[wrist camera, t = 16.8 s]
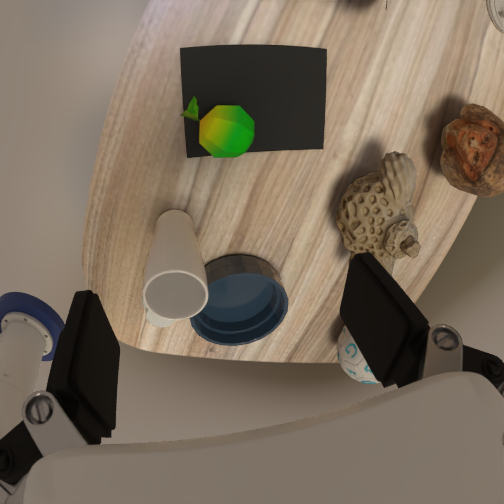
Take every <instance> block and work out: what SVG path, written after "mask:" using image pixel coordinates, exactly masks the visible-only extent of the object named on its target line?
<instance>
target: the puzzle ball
mask: <svg viewBox="0 0 504 504" xmlns="http://www.w3.org/2000/svg"><path fill="white" fill-rule="evenodd" d="M337 351H338V353H337V355H338V359H339V362H340V364H341V367H342V368H343V370H344V371H345V372H346V373H347V374H348V375H349V376H350V377H352V378H353V379H355V380H357V381H360V382H362V383H367V384H375V383H379V382H378V381H377V380H376V379H375V377H374V375H373V373H372V371H371V370H370V368H369V366H368V364H367V362H366V361H365V359H364V357H363V355H362V354H361V352H360V350H359V348H358V346H357V345H356V343H355V341H354V339H353V338H352V336H351V334H350V332H349V331H348V329H347V327H346V326H344V327H343V329H342V331H341V334H340V336H339V338H338V343H337Z"/></svg>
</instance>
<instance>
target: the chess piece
mask: <svg viewBox="0 0 504 504" xmlns="http://www.w3.org/2000/svg"><path fill="white" fill-rule="evenodd" d="M486 2H487V9H488V12H489V15H490V18H491V20H492V22H493V24H494V25H495V27H496V28H497V29H498V30H499V31H500V32H502V33H504V0H486Z"/></svg>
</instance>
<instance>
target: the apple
mask: <svg viewBox="0 0 504 504" xmlns="http://www.w3.org/2000/svg"><path fill="white" fill-rule="evenodd" d="M181 116H184V117H187V118H190V119H193V120H196V121H199V122H200V129H199V143H200V144H201V145H202V146H203V147H204V148H205V149H206V150H207V151H208V152H209V153H210V154H211V155H212V156H213V157H214V158H222V157H238V156H240V155H242V154H244V153H245V152H246V151H247V149H248V148H249V147H250V145H251V144H252V143H253V138H254V121H253V119H252V118H251V117H250V116H249V115H248V114H247V113H246V112H245V111H244V110H243V109H242V108H241V107H240V106H229V105H217V106H216V107H214V108H213V109H212V110H211V111H210V112H209V113H208V114H207V115H206V116H205V117H204V118H203V119H201V120H199V119H198V101H197V100H196V98H195V96H194V97H193V99H192V100H191V102H190V104H189V106H188V108H187V110H185V111H184V112H183V113H182V114H181Z"/></svg>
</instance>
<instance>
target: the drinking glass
mask: <svg viewBox="0 0 504 504" xmlns="http://www.w3.org/2000/svg"><path fill="white" fill-rule="evenodd" d="M143 300H144V303H145V305H146V307H147V308H148V309H149V310H150V311H151V312H152V313H153V314H155V315H156V316H158V317H161V318H164V319H168V320H184V319H188V318H190V317H193V316H195V315H196V314H198V313H199V312H200V311H201V310H202V309H203V308H204V307H205V305H206V303H207V301H208V283H207V275H206V270H205V265H204V261H203V258H202V254H201V251H200V248H199V244H198V241H197V237H196V234H195V230H194V223H193V220H192V219H191V217H190V216H189V215H188V214H187V213H185V212H183V211H181V210H169V211H166V212H164V213H163V214H162V215H161V216H160V217H159V218H158V220H157V222H156V225H155V232H154V235H153V239H152V242H151V246H150V249H149V253H148V256H147V260H146V264H145V269H144V276H143Z"/></svg>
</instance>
